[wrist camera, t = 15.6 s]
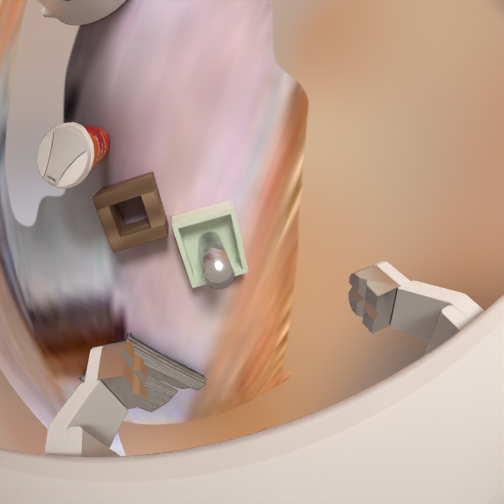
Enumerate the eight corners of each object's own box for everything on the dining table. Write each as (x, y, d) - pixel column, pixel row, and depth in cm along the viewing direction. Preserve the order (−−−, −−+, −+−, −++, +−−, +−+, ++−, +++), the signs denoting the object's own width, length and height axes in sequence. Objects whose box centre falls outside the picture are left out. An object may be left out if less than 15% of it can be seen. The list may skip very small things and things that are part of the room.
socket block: (100, 189, 39) (92, 198, 35) (153, 171, 40) (150, 178, 36) (118, 239, 44) (113, 252, 39) (168, 223, 45) (168, 236, 41)
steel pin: (195, 235, 46) (202, 268, 37) (218, 228, 47) (231, 260, 37) (201, 255, 48) (209, 292, 39) (223, 249, 49) (237, 284, 39)
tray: (171, 216, 45) (171, 225, 41) (229, 200, 46) (234, 207, 43) (190, 276, 51) (192, 288, 47) (242, 261, 52) (248, 272, 49)
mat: (79, 372, 55) (77, 386, 51) (128, 324, 52) (126, 340, 48) (149, 407, 67) (150, 420, 63) (205, 370, 64) (208, 385, 60)
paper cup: (100, 176, 38) (72, 202, 26) (64, 154, 35) (24, 172, 23) (126, 134, 36) (104, 141, 24) (88, 111, 33) (52, 110, 21)
